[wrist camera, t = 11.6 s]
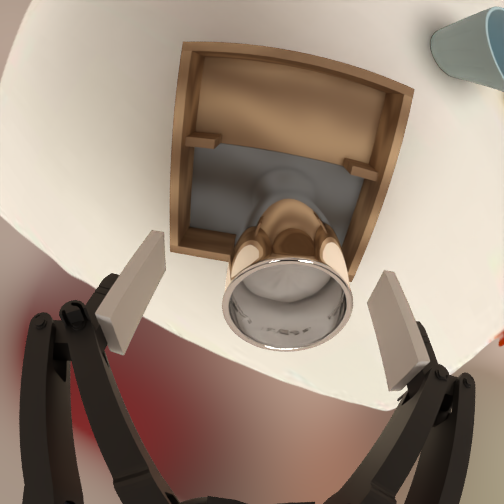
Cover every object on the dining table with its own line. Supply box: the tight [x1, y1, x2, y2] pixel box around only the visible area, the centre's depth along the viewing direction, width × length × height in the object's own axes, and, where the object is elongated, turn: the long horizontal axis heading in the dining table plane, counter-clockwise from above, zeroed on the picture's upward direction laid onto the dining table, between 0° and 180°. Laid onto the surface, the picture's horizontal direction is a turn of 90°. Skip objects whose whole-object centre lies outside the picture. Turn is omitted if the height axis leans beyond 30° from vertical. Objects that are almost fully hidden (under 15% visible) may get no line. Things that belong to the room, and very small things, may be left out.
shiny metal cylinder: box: [222, 168, 353, 352], centre depth 19 cm, size 7×7×15 cm
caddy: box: [170, 42, 414, 282], centre depth 22 cm, size 19×18×4 cm
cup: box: [431, 7, 504, 92], centre depth 11 cm, size 8×8×10 cm
